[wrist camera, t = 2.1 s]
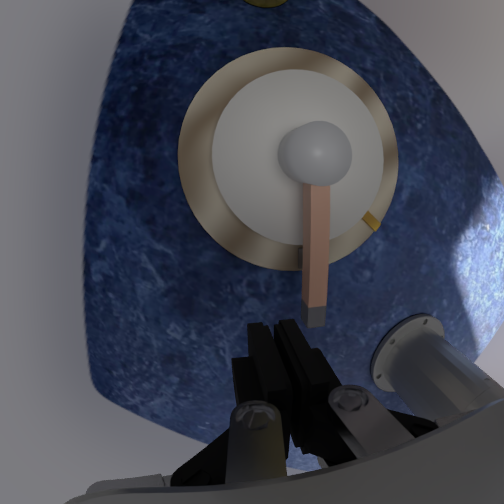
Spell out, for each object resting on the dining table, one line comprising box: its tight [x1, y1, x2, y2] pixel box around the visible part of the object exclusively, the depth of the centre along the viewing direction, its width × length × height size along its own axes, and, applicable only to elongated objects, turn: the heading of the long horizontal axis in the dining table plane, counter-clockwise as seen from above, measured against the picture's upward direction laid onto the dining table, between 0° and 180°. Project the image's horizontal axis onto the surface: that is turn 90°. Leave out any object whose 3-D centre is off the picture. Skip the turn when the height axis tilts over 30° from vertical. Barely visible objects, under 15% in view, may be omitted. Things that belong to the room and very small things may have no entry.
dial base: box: [178, 47, 398, 271], centre depth 27 cm, size 22×22×2 cm
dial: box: [212, 69, 384, 328], centre depth 25 cm, size 22×16×6 cm
